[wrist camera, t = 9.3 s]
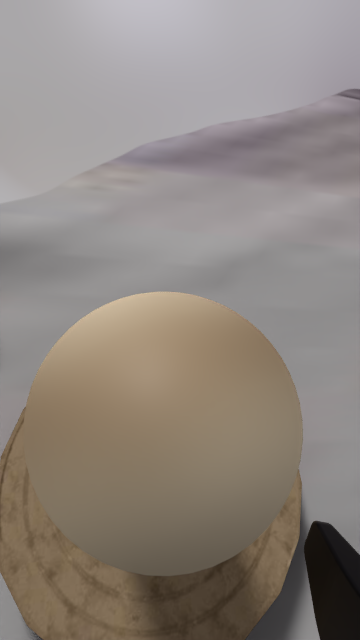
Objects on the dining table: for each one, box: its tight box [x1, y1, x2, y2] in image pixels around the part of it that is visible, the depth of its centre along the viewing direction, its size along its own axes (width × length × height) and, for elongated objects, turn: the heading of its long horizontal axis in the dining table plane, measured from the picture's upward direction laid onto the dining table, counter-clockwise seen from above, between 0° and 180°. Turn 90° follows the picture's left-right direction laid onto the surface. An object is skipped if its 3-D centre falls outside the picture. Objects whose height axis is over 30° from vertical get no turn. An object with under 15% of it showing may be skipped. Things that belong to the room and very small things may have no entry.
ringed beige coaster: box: [0, 407, 302, 640], centre depth 18 cm, size 16×16×3 cm
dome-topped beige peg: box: [23, 292, 303, 576], centre depth 11 cm, size 5×5×12 cm
